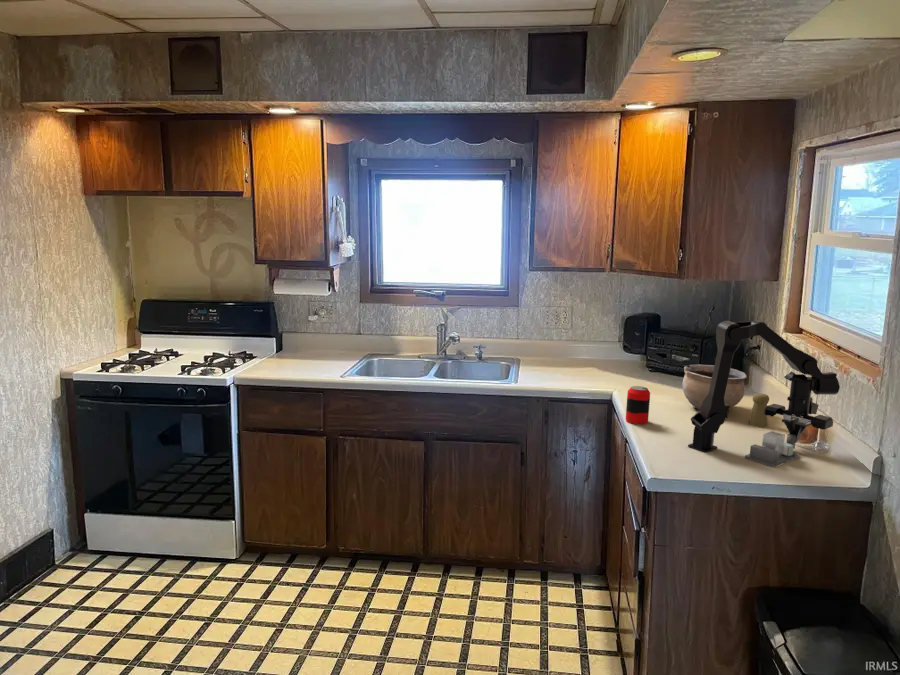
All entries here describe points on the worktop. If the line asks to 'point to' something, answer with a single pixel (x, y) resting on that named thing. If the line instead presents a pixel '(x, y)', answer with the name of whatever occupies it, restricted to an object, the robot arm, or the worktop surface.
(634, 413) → the soda can
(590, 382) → the worktop surface
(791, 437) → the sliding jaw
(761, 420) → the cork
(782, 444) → the steel block
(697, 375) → the ceramic bowl
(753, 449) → the base
